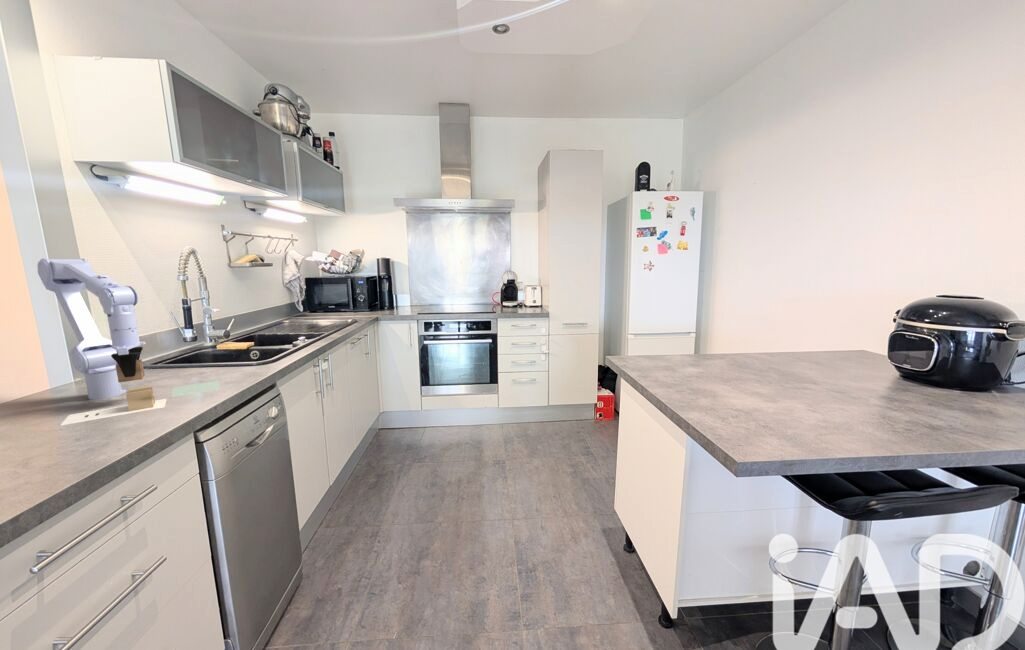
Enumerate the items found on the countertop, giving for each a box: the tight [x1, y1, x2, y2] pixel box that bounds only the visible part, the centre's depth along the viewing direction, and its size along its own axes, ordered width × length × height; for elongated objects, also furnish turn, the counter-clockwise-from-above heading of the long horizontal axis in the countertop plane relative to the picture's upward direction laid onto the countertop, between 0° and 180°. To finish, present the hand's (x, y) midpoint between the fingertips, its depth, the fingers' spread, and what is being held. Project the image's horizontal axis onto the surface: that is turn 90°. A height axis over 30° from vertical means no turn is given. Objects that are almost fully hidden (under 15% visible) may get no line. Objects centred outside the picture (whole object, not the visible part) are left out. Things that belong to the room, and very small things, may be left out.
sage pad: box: [170, 380, 221, 398], centre depth 127 cm, size 12×12×1 cm
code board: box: [60, 398, 167, 427], centre depth 109 cm, size 9×20×1 cm, turn 128°
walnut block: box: [116, 359, 146, 383], centre depth 114 cm, size 5×5×5 cm
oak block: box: [125, 385, 156, 411], centre depth 111 cm, size 5×5×5 cm
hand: (131, 374), depth 114 cm, fingers closed on walnut block, 5 cm apart
